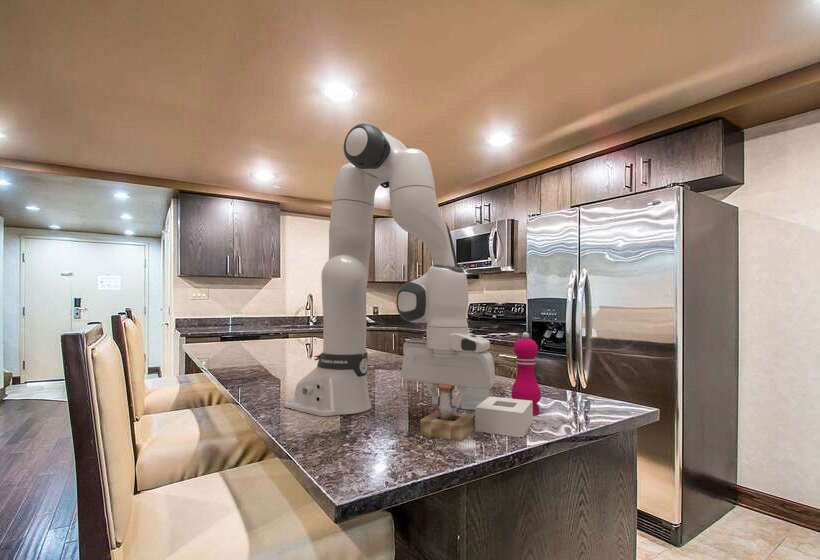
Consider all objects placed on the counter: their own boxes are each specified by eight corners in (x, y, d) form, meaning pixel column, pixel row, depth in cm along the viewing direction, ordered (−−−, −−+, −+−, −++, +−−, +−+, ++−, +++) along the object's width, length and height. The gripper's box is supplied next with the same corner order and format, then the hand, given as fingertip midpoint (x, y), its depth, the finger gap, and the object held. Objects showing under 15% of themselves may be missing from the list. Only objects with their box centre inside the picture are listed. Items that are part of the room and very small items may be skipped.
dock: (475, 431, 90) (475, 407, 90) (489, 417, 101) (489, 396, 101) (523, 437, 86) (522, 412, 86) (532, 422, 97) (532, 400, 97)
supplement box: (489, 411, 107) (489, 360, 108) (460, 409, 109) (460, 359, 110) (490, 404, 115) (490, 357, 115) (462, 402, 116) (462, 356, 117)
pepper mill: (517, 407, 111) (517, 330, 112) (545, 411, 107) (544, 332, 108) (506, 413, 105) (506, 332, 106) (535, 417, 101) (534, 333, 102)
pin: (434, 431, 88) (434, 383, 89) (440, 427, 92) (441, 380, 92) (451, 434, 87) (451, 385, 87) (457, 429, 90) (458, 382, 91)
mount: (420, 434, 87) (420, 420, 88) (436, 423, 96) (436, 410, 96) (461, 441, 84) (462, 425, 84) (475, 429, 92) (474, 415, 92)
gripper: (397, 338, 92) (395, 403, 91) (489, 344, 83) (488, 415, 82) (409, 336, 98) (408, 397, 97) (497, 341, 89) (497, 408, 88)
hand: (446, 406), depth 90 cm, fingers closed on pin, 3 cm apart
